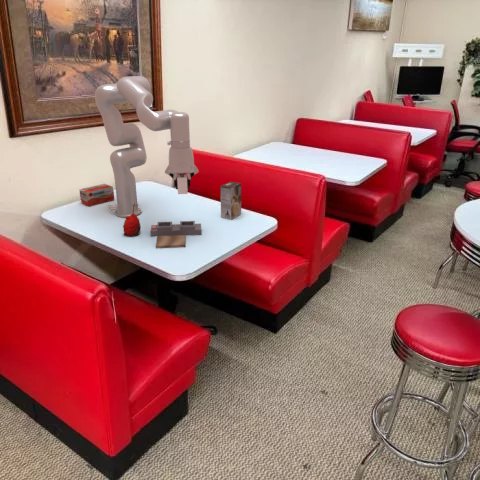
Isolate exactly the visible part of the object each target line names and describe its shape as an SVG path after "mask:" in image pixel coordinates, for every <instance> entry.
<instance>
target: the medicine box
mask: <svg viewBox="0 0 480 480" xmlns="http://www.w3.org/2000/svg"><path fill="white" fill-rule="evenodd" d="M79 197H80V202H81V204H82V205H85V206H87V207H89V208H90V207H94V206H97V205H101V204H102V205H103V204H106V203H108V202H109V203H110V202H114V201H115V192H114V188H113V186H112V185H109V184H107V183H102V184H98V185H93V186H88V187H84V188H80V189H79Z"/></svg>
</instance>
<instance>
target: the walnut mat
mask: <svg viewBox="0 0 480 480" xmlns="http://www.w3.org/2000/svg"><path fill="white" fill-rule="evenodd" d="M186 236H187V235H174V236H156V242H155V249H166V248H167V249H168V248H169V249H170V248H186Z"/></svg>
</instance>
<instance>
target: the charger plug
mask: <svg viewBox="0 0 480 480" xmlns="http://www.w3.org/2000/svg"><path fill="white" fill-rule="evenodd" d="M187 177H188V176H187V174H185V173H179V174H177V184H178V189H177V195H188V193H189V192H188V190H189V189H187Z"/></svg>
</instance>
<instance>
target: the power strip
mask: <svg viewBox="0 0 480 480" xmlns="http://www.w3.org/2000/svg"><path fill="white" fill-rule="evenodd" d="M195 222H196V221H195V220H181V221H180V222H179V223H177V224H175V223H174V224H173V221H157V224H151V226H150V233H149V234H150V238H151V237H157V236H174V235H185V236H202V224H201V223H195Z"/></svg>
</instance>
